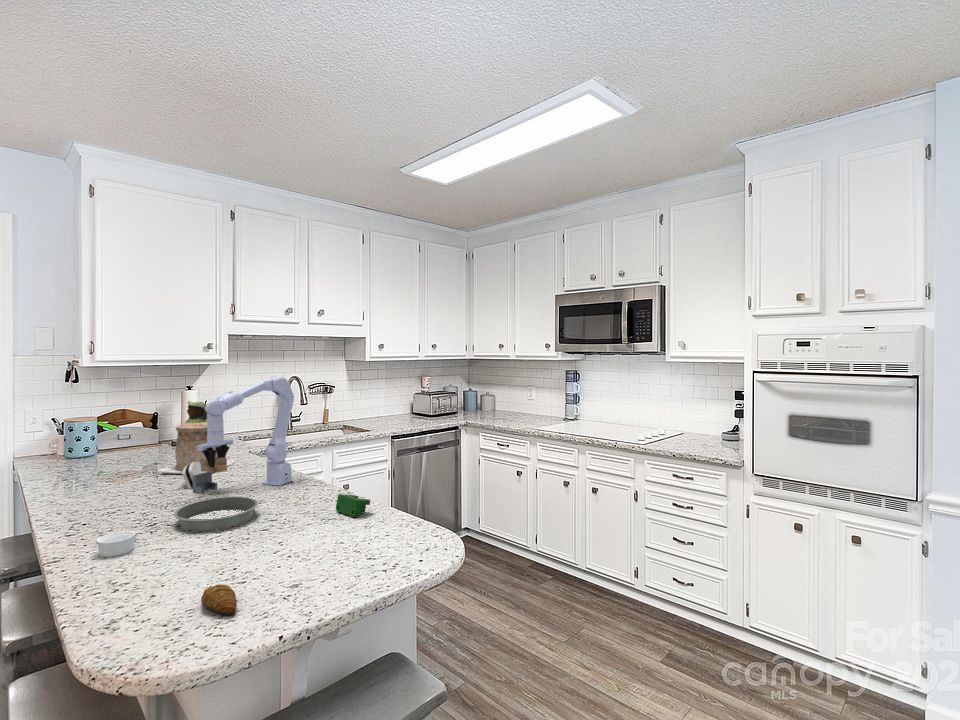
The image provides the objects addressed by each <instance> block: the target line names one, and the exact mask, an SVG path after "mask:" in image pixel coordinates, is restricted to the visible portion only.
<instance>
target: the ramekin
mask: <svg viewBox="0 0 960 720" xmlns="http://www.w3.org/2000/svg"><path fill="white" fill-rule="evenodd" d="M135 538H136V532H135V531H131V530H125V531H122V530H121V531H117V532H112V533H111V532H110V533H108V534H104V535H101V536H100V537H98V538H97V539H96V544H97V547H98V548H97V549H98V554H99V556H100V557H102V556H103V558H111V557H110V556H113V557H118V556H117V555H119V556H122V554H123V555H125V553H126V554H127V553H130V552H132V551H133V550H134V548H135ZM131 550H132V551H131Z"/></svg>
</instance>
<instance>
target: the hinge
mask: <svg viewBox="0 0 960 720" xmlns="http://www.w3.org/2000/svg"><path fill="white" fill-rule="evenodd" d="M201 473H205V472H204V471H201V464H200V463H199V462H193V463H191V464H188V465H187V466H185V467H184V469H183V473H181V474H182V477H183V478H184V482H185V484H186V487H187V489H188V490H192V489H193V479H192V476H194V475H197V474H201Z"/></svg>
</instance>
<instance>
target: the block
mask: <svg viewBox="0 0 960 720" xmlns="http://www.w3.org/2000/svg"><path fill="white" fill-rule="evenodd" d="M200 460H201V471H204V472H212V473H222V472H227V471H228V466H227V460H228V459H227V457H226V456H225V457H215V466H214V467H209V465H208V461H207V459H206V457H204V458H200Z"/></svg>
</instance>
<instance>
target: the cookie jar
mask: <svg viewBox="0 0 960 720" xmlns="http://www.w3.org/2000/svg"><path fill="white" fill-rule="evenodd" d="M186 403H187V404H188V405H187V410H186V412H187V415H188V419H186V420H185V421H184V422H183V423H181V424H178V425H176V426H175V430H176V431H177V438H176V445H175V450H174V451H175V461H176V465H170V466H166V467H162V468H159V469H158V470H157V472H159V475H160V474H161V473H162V474H182V473H183V469H184V467H185V466H187V465H188V464H191V463H193V462H199V463H200V464H201V460H200V458H204V457H205V455H204V453H203V452H202V451H198V450H197V446H198V445H202V444H205V443H207V442H208V441H207V412H206V410H205V407H206V404H207V403H206V402H203V401H198V402H197V401H196V402H195V401H193V402H192V401H190V400H188V401H187V402H186ZM213 449H214V450H216V448H213ZM215 457H217V452H216V454H215ZM235 463H236V460H235V459H227V467H230V466H232V465H234V464H235ZM162 474H161V475H162Z"/></svg>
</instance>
